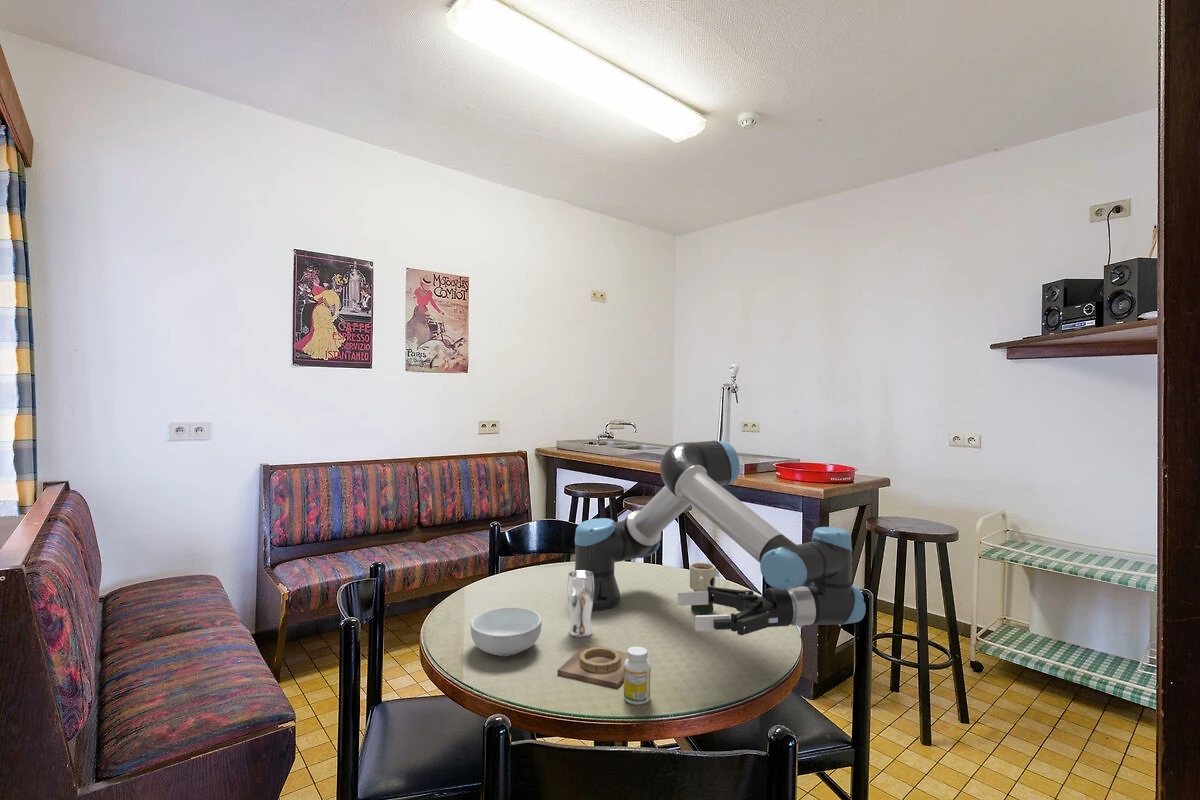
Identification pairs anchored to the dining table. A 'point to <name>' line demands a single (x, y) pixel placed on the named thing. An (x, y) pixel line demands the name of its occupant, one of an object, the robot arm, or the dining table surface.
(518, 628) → the cereal bowl
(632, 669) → the supplement bottle
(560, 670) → the collar stand
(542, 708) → the dining table surface
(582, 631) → the silver metal tumbler
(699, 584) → the character mug
